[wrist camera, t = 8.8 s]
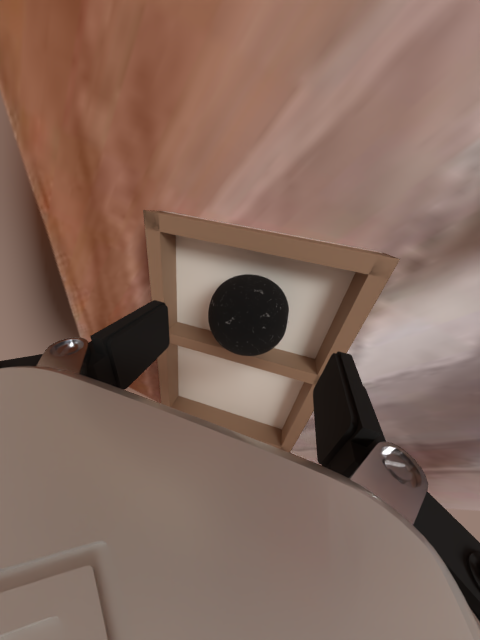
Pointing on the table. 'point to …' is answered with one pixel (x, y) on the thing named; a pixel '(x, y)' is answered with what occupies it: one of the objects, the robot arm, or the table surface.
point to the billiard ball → (248, 315)
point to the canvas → (301, 334)
